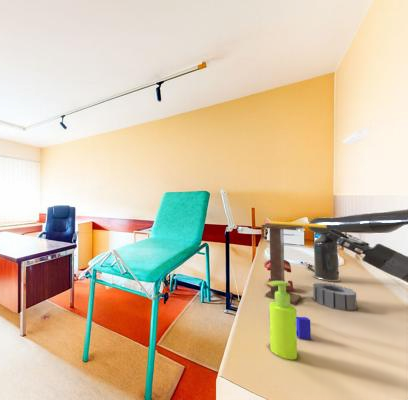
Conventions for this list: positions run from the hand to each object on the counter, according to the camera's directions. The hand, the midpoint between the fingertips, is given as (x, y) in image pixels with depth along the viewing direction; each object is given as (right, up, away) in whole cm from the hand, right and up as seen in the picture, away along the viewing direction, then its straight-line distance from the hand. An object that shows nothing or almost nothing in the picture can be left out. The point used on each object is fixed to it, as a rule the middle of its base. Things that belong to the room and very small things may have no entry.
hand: (328, 231), depth 83 cm
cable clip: (-24, -31, -10) cm, 40 cm away
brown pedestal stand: (-8, -31, +12) cm, 34 cm away
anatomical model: (-1, -31, +22) cm, 38 cm away
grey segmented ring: (+8, -30, +6) cm, 32 cm away
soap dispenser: (-36, -31, -22) cm, 52 cm away
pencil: (-6, +1, +9) cm, 11 cm away
